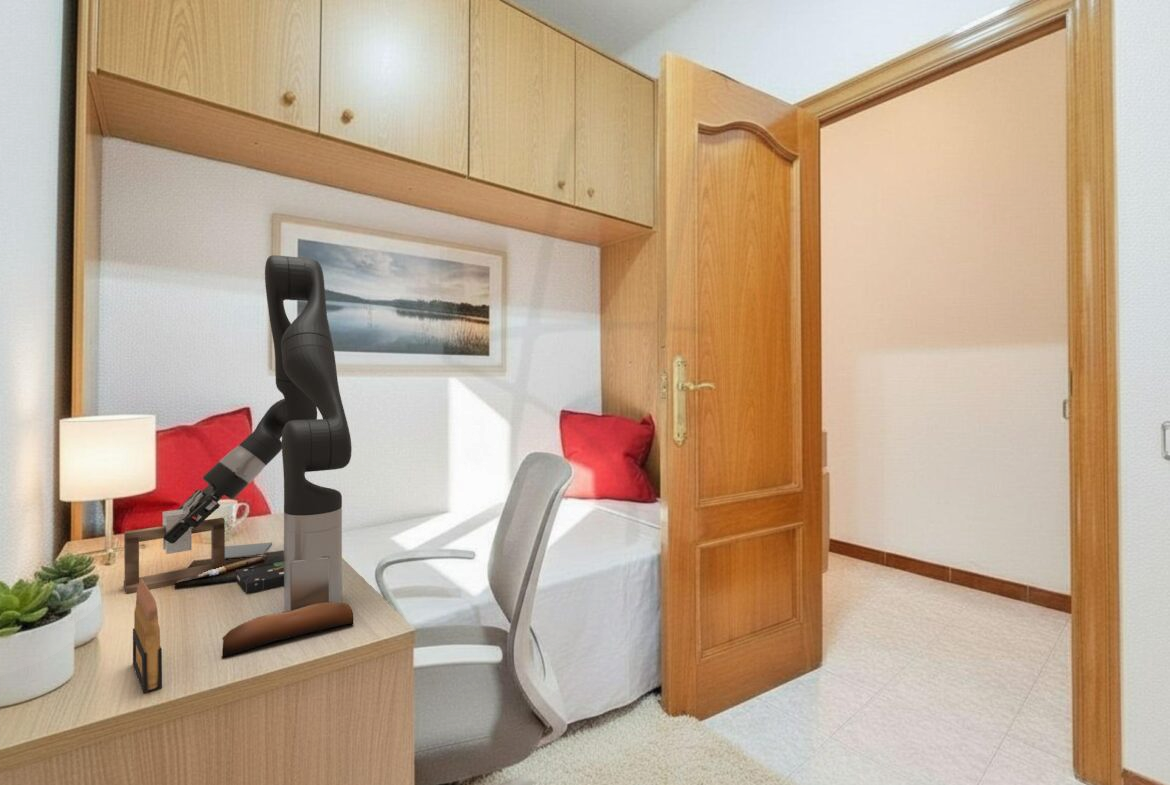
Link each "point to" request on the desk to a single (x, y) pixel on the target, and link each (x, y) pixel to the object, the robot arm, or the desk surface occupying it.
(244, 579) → the disk drive
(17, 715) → the desk surface
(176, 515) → the pale grey upright block
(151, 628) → the ammunition clip
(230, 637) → the sunglasses case
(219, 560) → the stand
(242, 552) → the slate mat
